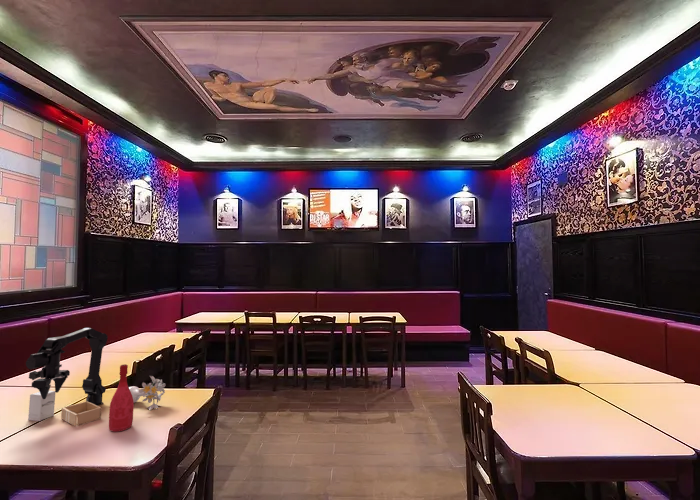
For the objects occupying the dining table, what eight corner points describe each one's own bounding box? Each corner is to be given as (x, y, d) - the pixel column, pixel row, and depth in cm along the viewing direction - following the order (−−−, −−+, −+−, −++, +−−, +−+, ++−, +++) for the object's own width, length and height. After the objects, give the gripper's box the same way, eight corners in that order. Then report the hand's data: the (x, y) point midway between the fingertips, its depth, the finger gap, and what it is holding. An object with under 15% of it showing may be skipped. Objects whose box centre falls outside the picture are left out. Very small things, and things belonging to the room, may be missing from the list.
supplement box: (39, 421, 176) (41, 395, 176) (27, 420, 177) (29, 394, 178) (54, 415, 183) (56, 390, 184) (43, 414, 184) (44, 389, 185)
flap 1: (63, 417, 179) (63, 407, 180) (68, 421, 176) (69, 410, 176) (60, 418, 179) (61, 408, 179) (66, 421, 175) (67, 411, 175)
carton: (86, 411, 188) (87, 401, 189) (100, 418, 180) (101, 407, 180) (63, 418, 180) (64, 407, 180) (77, 425, 171) (78, 414, 172)
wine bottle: (106, 434, 163) (110, 368, 165) (109, 426, 171) (113, 363, 173) (131, 430, 167) (134, 366, 169) (133, 422, 176) (136, 361, 178)
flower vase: (123, 417, 197) (154, 413, 188) (113, 386, 197) (143, 380, 188) (144, 405, 209) (173, 400, 200) (134, 376, 209) (164, 369, 200)
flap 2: (69, 421, 175) (70, 410, 176) (76, 425, 171) (77, 414, 172) (67, 422, 174) (68, 411, 175) (74, 425, 170) (75, 414, 171)
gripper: (47, 359, 184) (45, 389, 183) (19, 369, 165) (17, 403, 165) (71, 358, 186) (69, 389, 185) (46, 368, 167) (44, 402, 166)
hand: (50, 395), depth 175 cm, fingers open, 9 cm apart
